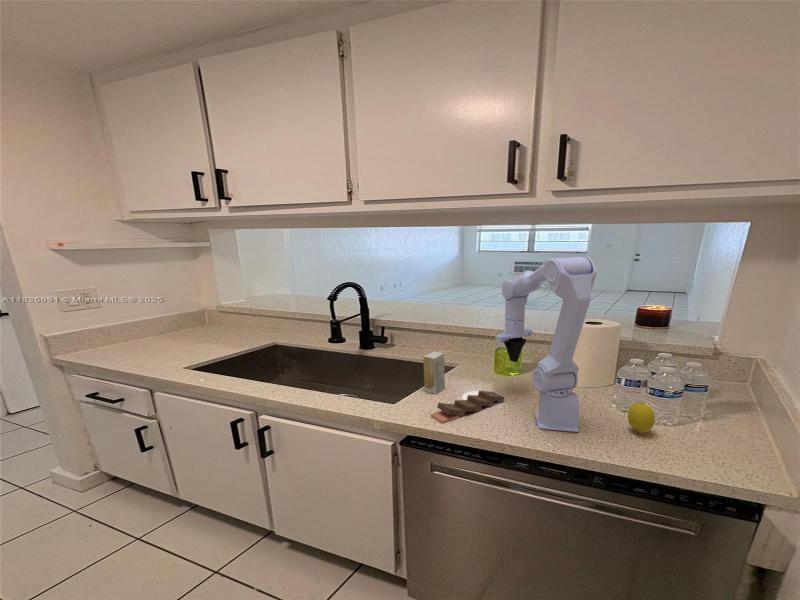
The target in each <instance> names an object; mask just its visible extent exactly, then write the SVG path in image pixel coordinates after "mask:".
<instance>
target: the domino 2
mask: <svg viewBox="0 0 800 600" xmlns="http://www.w3.org/2000/svg"><path fill="white" fill-rule="evenodd" d="M430 417H431V418H432V419H433V420H435V421H437V422H438V423H440V424H441V425H444V424H446V423H449V422H452V421H454V420H457V419H460V415H449V414H447V413H446V412H444V411H442V410H439V411H436V412H433V413H430Z"/></svg>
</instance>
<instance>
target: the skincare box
mask: <svg viewBox="0 0 800 600" xmlns="http://www.w3.org/2000/svg"><path fill="white" fill-rule="evenodd" d="M445 375H446V374H445V353H444V352H439V351H432V352H430V353H426V354H425V355H423V380H424V381H423V383H424V384H423V385H424V386H423V387H424V388H423V389H424V392H425V393H429V394H433V395H436V394H438V393H440V392H441V391H443V390H444V389H445V388H446V380H445V377H446V376H445Z"/></svg>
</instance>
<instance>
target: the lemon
mask: <svg viewBox="0 0 800 600" xmlns="http://www.w3.org/2000/svg"><path fill="white" fill-rule="evenodd" d="M655 418H656V417H655V413H654V410H653V408H651V407H650V405H648V404H646V403H645V402H643V401H641V402H636V403H634V404H632V405H631V406H630V407H629V409H628V411H627V420H628V424H629V426H631V428H632V429H634V430H635V431H636V432H637V433H639V434H642V433H646V432H649V431H651V430H652V428H654V425H655V420H656V419H655Z"/></svg>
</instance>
